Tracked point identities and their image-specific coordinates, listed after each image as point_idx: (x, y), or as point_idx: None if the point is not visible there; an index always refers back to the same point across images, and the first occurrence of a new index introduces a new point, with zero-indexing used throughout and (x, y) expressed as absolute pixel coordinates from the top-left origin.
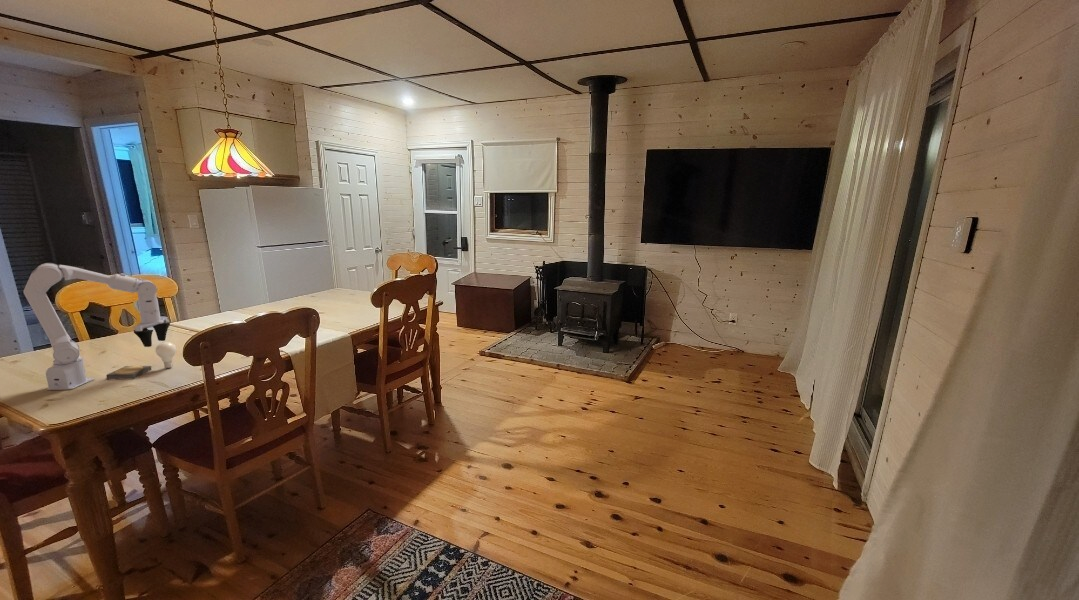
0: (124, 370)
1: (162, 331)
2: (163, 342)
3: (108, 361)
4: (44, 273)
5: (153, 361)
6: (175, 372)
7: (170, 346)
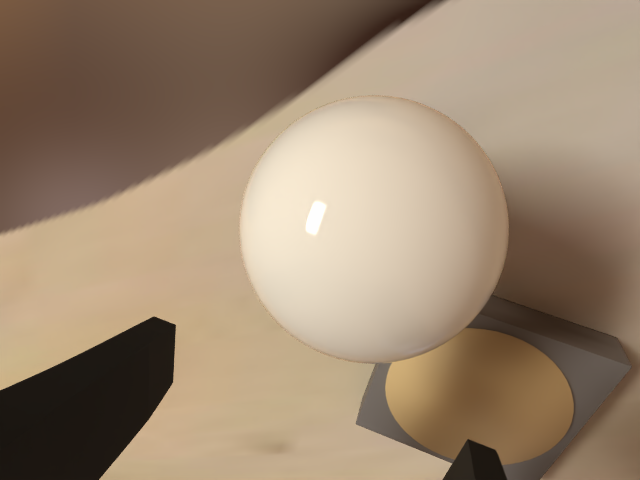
0: (482, 424)
1: (22, 476)
2: (345, 318)
3: (180, 469)
4: None
5: (205, 297)
6: (605, 34)
7: (445, 167)
